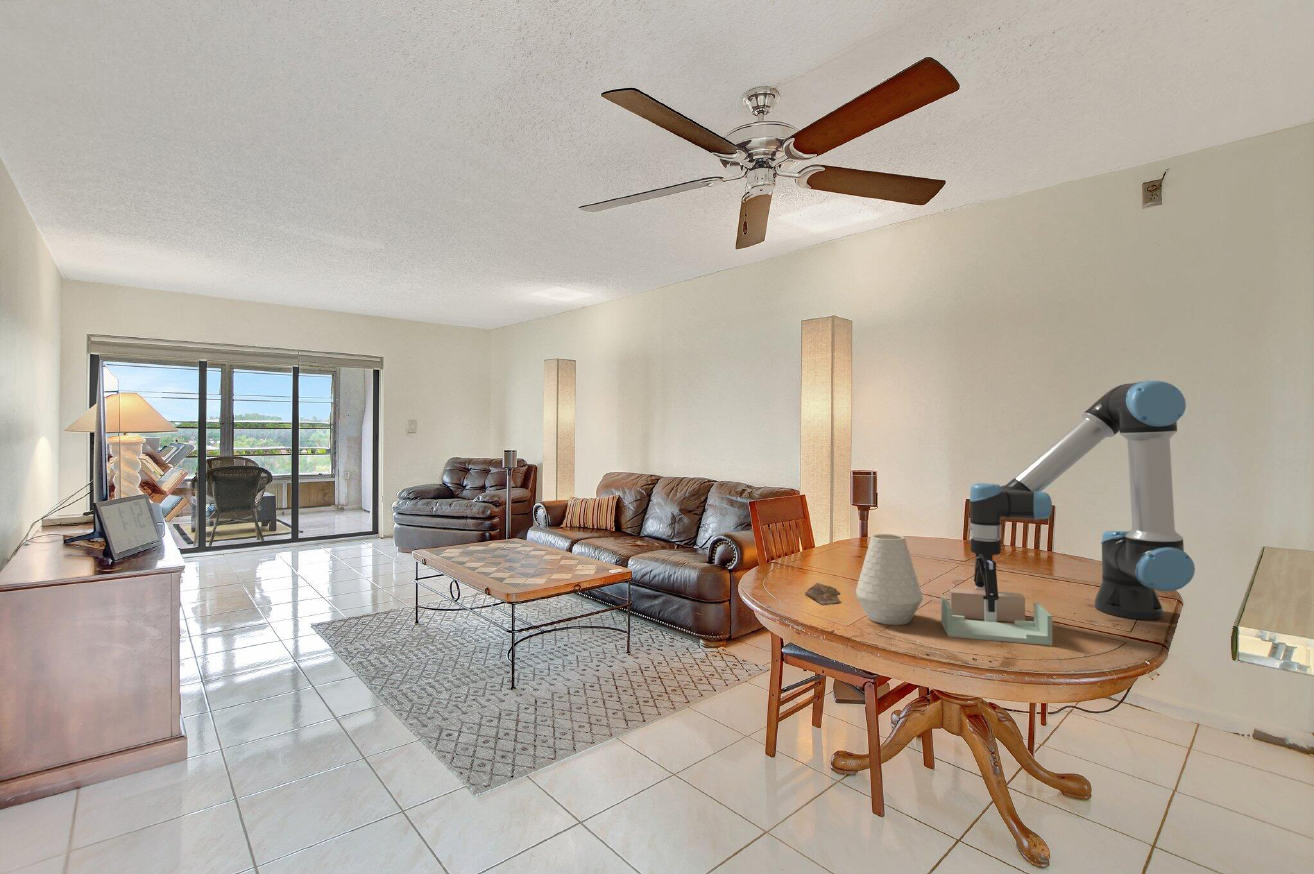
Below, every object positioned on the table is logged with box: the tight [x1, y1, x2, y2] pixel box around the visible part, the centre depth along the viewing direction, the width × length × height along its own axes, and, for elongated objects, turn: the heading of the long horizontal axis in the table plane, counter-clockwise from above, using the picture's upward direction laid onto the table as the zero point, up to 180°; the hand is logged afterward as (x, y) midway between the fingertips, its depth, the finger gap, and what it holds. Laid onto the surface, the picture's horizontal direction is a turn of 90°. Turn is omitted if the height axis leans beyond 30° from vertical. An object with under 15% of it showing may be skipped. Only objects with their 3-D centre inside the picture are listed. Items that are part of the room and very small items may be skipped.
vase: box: [855, 533, 924, 626], centre depth 164 cm, size 17×17×23 cm
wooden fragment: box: [804, 582, 842, 606], centre depth 190 cm, size 26×11×1 cm, turn 166°
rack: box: [940, 595, 1053, 646], centre depth 152 cm, size 23×12×7 cm, turn 72°
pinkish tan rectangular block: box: [949, 587, 1026, 623], centre depth 165 cm, size 18×4×7 cm, turn 70°
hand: (985, 616), depth 165 cm, fingers open, 12 cm apart
